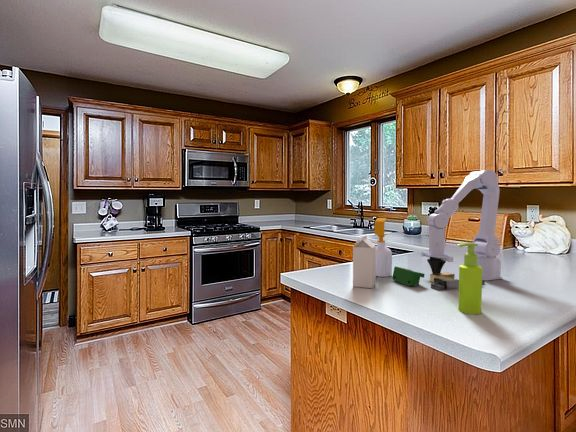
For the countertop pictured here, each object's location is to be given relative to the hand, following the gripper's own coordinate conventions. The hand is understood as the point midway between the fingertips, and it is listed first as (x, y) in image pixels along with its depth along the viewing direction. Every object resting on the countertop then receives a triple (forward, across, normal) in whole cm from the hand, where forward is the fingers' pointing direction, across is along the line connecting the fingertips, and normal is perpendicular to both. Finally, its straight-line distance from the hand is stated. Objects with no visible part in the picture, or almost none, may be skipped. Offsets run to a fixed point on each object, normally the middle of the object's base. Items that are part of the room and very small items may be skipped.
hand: (436, 276), depth 136 cm
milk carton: (+1, -4, -32) cm, 32 cm away
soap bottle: (+1, -16, -15) cm, 22 cm away
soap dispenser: (+1, +32, -21) cm, 38 cm away
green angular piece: (+2, 0, -14) cm, 14 cm away
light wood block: (+2, +3, 0) cm, 3 cm away
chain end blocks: (+1, +10, 0) cm, 10 cm away
